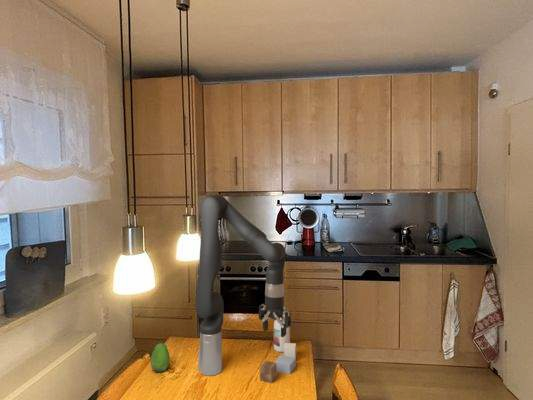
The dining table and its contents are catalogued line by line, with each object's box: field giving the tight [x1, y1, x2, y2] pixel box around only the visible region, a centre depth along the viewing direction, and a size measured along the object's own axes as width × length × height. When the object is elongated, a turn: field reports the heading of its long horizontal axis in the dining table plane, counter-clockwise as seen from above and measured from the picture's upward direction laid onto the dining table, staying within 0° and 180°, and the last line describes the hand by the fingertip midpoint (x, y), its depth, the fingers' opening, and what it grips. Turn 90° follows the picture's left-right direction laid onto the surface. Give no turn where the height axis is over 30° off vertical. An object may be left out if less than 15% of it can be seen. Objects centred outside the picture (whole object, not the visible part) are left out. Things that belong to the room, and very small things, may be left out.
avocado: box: [150, 342, 171, 373], centre depth 149 cm, size 8×8×12 cm
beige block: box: [283, 342, 297, 358], centre depth 158 cm, size 5×5×6 cm
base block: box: [273, 354, 297, 375], centre depth 150 cm, size 7×7×4 cm
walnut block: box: [259, 360, 277, 384], centre depth 142 cm, size 5×5×6 cm
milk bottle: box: [273, 306, 291, 353], centre depth 167 cm, size 8×8×20 cm
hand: (274, 333), depth 139 cm, fingers open, 8 cm apart
